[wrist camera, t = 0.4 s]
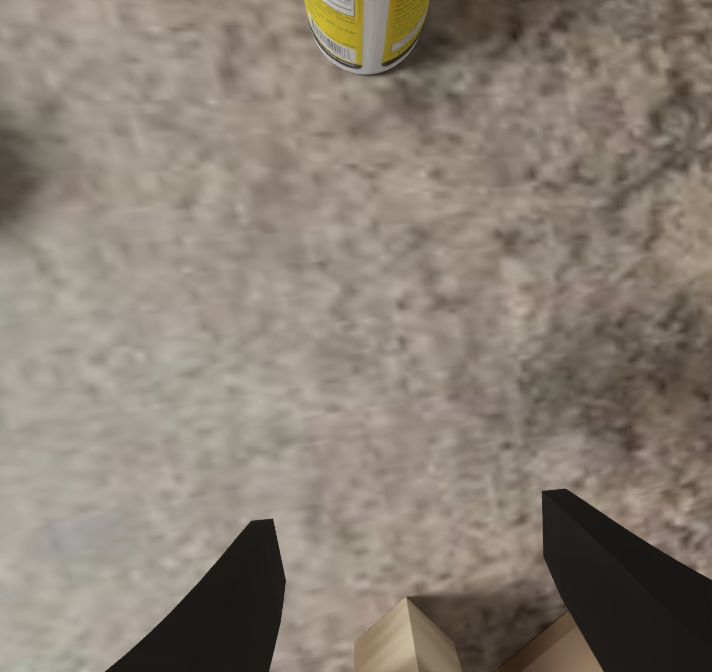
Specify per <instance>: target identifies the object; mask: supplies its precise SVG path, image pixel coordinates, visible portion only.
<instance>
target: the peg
mask: <svg viewBox="0 0 712 672" xmlns="http://www.w3.org/2000/svg"><path fill="white" fill-rule="evenodd" d="M355 672H462V669H461V666H460V662H459V659H458V655H457V651H456V648H455V644H454V642H453V641H452V640H451V639H450V638H449V637H448V636H447V635H446V634H445V633H443V632H442V631H441V630H440V629H439V628H438V627H437V626H436V625H435V624H434V623H433V622H432V621H431V620H430V619H429V618H428V617H427V616H426V615H424V614H423V613H422V612H421V611H420V610H419V609H418V608H417V607H416V606H415V605H414V604H413V603H412V602H411V601H410V600H409V599H408V598H407V597H405V598H404V599H403V600H402V601H401V602H400V603H398V604H397V605H396V606H395V607H394V608H393V609H392V610H390V611H389V612H388V613H387V614H386V615H385V616H384V617H382V618H381V619H380V620H379V621H378V622H377V623H376V624H374V625H373V626H372V627H371V628H370V629H369V630H368V631H366V632H365V633H364V634H363V635H362V636H361V637H360V638H358V639H357V640H356V641H355Z"/></svg>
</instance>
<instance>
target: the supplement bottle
mask: <svg viewBox="0 0 712 672" xmlns="http://www.w3.org/2000/svg"><path fill="white" fill-rule="evenodd" d="M304 1H305V6H306V12H307V16H308V21H309V25H310V28H311V32H312V34H313V37H314V39H315V41H316V43H317V45H318V47H319V48H320V50H321V51H322V52H323V54H324V55H325V56H326V57H327V58H328V59H329V60H330V61H331V62H333V63H334V64H335V65H337V66H338V67H340V68H342V69H344V70H346V71H349V72H352V73H357V74H376V73H380V72H383V71H386V70H388V69H390V68H392V67H394V66H396V65H397V64H398V63H400V62H401V61H402V60H403V59H405V57H406V56H407V55H408V54H409V53H410V52H411V51H412V49H413V48H414V46H415V44H416V43H417V41H418V39H419V36H420V34H421V31H422V28H423V25H424V21H425V18H426V14H427V10H428V6H429V2H430V0H304Z"/></svg>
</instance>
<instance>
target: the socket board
mask: <svg viewBox="0 0 712 672" xmlns="http://www.w3.org/2000/svg"><path fill="white" fill-rule="evenodd" d="M495 672H603V670H602V668H601V666H600V665H599V663H598V661H597V659H596V658H595V656H594V654H593V652H592V651H591V649H590V647H589V645H588V644H587V642H586V640H585V638H584V637H583V635H582V633H581V632H580V630H579V628H578V626H577V624H576V623H575V621H574V619H573V617H572V616H571V614H570V612H569V610H568V611H567V612H566V613H565V614H564V615H562V616H561V617H560V618H559V619H558V620H556V621H555V622H554V623H553V624H552V625H550V626H549V627H548V628H547V629H546V630H544V631H543V632H542V633H541V634H540V635H538V636H537V637H536V638H535V639H534V640H532V641H531V642H530V643H529V644H528V645H526V646H525V647H524V648H523V649H522V650H520V651H519V652H518V653H517V654H516V655H514V656H513V657H512V658H511V659H510V660H508V661H507V662H506V663H505V664H504V665H502V666H501V667H500V668H499V669H498V670H496V671H495Z"/></svg>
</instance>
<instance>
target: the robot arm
mask: <svg viewBox="0 0 712 672" xmlns="http://www.w3.org/2000/svg"><path fill="white" fill-rule="evenodd" d="M542 516H543V556H544V559H545V561H546V563H547V566H548V568H549V571H550V573H551V575H552V578H553V580H554V582H555V585H556V587H557V589H558V591H559V594H560V596H561V598H562V599H563V601H564V603H565V605H566V607H567V609H568V610H569V612H570V614H571V616H572V617H573V619H574V621H575V623H576V624H577V626H578V628H579V630H580V632H581V633H582V635H583V637H584V638H585V640H586V642H587V644H588V645H589V647H590V649H591V651H592V652H593V654H594V656H595V658H596V659H597V661H598V663H599V665H600V666H601V668H602V670H603V672H712V580H711V579H709V578H707V577H705V576H703V575H702V574H700V573H698V572H696V571H694V570H693V569H691V568H689V567H687V566H686V565H684V564H682V563H681V562H679V561H677V560H675V559H674V558H672V557H670V556H669V555H667V554H665V553H663V552H662V551H660V550H659V549H657V548H655V547H654V546H652V545H650V544H649V543H647V542H646V541H644V540H642V539H641V538H639V537H638V536H636V535H635V534H633V533H632V532H630V531H628V530H627V529H625V528H624V527H622V526H621V525H619V524H618V523H616V522H615V521H613V520H612V519H610V518H609V517H607V516H606V515H604V514H603V513H601V512H600V511H598V510H597V509H595V508H594V507H593V506H591V505H590V504H588V503H587V502H585V501H584V500H582V499H581V498H579V497H578V496H576V495H575V494H573V493H572V492H570V491H569V490H567V489H557V490H547V491H542ZM285 584H286V579H285V574H284V569H283V564H282V560H281V555H280V550H279V545H278V540H277V536H276V531H275V526H274V521H273V519H265V520H255V521H251V522H250V523H249V524H248V525H247V526H246V527H245V529H244V530H243V531H242V532H241V533H240V534H239V536H238V537H237V538H236V539H235V540H234V542H233V543H232V544H231V545H230V546H229V548H228V549H227V550H226V551H225V552H224V554H223V555H222V556H221V557H220V558H219V560H218V561H217V562H216V563H215V564H214V565H213V567H212V568H211V569H210V570H209V571H208V572H207V573H206V575H205V576H204V577H203V578H202V579H201V580H200V582H199V583H198V584H197V585H196V586H195V587H194V588H193V589H192V590H191V591H190V592H189V593H188V594H187V595H186V596H185V598H184V599H183V600H182V601H181V602H180V603H179V604H178V605H177V606H176V607H175V608H174V609H173V610H172V611H171V612H170V613H169V614H168V615H167V616H166V617H165V618H164V619H163V620H162V621H161V622H160V623H159V624H158V625H157V626H156V627H155V628H154V629H153V630H152V631H151V632H150V633H149V634H148V635H147V636H145V637H144V638H143V639H142V640H141V641H140V642H139V643H138V644H137V645H136V646H135V647H133V648H132V649H131V650H130V651H129V652H128V653H127V654H126V655H124V656H123V657H122V658H121V659H120V660H118V661H117V662H116V663H115V664H114V665H112V666H111V667H110V668H109V669H108V670H106V671H105V672H269V669H270V665H271V661H272V657H273V653H274V648H275V644H276V640H277V636H278V631H279V627H280V623H281V616H282V609H283V601H284V593H285Z"/></svg>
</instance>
